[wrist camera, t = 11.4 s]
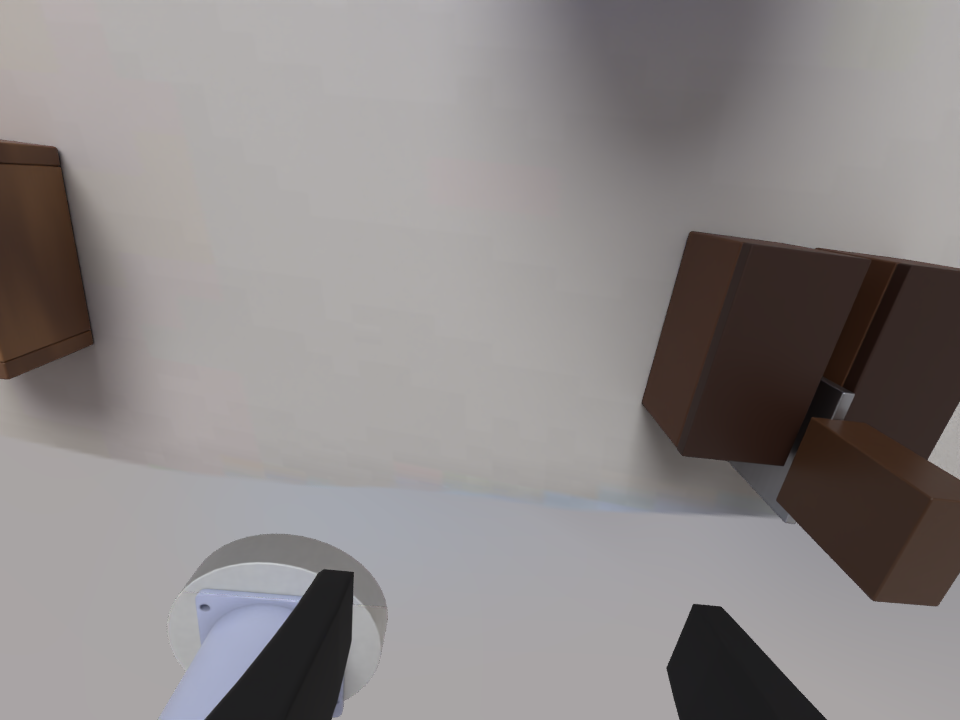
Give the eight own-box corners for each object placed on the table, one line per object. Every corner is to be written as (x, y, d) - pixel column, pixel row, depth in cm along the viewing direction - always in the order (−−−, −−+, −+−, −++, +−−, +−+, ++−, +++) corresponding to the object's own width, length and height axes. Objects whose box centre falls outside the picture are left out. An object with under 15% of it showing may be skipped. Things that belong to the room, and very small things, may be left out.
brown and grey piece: (742, 454, 20) (922, 633, 12) (703, 450, 20) (857, 627, 12) (783, 347, 18) (1025, 473, 10) (740, 342, 18) (951, 465, 10)
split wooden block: (831, 424, 19) (916, 480, 16) (640, 403, 19) (682, 456, 15) (906, 259, 17) (1028, 280, 13) (689, 230, 16) (752, 243, 13)
